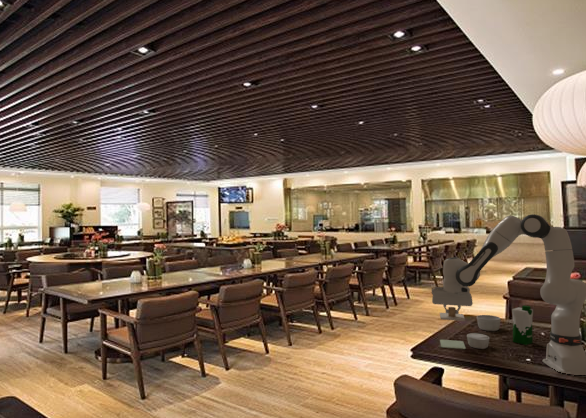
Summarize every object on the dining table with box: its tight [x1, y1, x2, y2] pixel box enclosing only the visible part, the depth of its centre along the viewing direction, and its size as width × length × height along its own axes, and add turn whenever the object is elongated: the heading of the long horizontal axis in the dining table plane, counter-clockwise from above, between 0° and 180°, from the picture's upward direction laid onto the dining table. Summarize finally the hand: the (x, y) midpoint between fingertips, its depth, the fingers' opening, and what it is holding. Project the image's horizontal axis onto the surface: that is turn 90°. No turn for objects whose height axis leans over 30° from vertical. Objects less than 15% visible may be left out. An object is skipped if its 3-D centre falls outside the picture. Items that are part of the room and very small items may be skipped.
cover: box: [439, 306, 466, 322], centre depth 226 cm, size 12×12×5 cm
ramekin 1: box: [476, 314, 502, 332], centre depth 256 cm, size 13×13×7 cm
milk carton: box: [511, 305, 534, 346], centre depth 229 cm, size 9×9×20 cm
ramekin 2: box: [466, 332, 491, 350], centre depth 223 cm, size 11×11×5 cm
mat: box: [439, 339, 467, 350], centre depth 225 cm, size 13×12×1 cm
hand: (452, 313), depth 226 cm, fingers closed on cover, 4 cm apart
